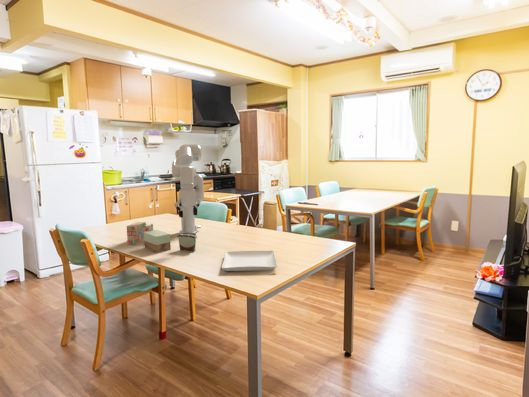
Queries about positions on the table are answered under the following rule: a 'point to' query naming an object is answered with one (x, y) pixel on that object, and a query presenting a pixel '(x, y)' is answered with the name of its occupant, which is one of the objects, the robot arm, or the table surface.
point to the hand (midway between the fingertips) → (188, 216)
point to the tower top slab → (156, 237)
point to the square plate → (249, 261)
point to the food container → (187, 241)
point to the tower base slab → (157, 247)
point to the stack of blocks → (137, 232)
